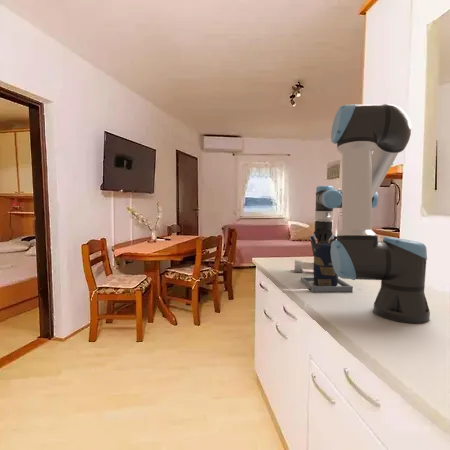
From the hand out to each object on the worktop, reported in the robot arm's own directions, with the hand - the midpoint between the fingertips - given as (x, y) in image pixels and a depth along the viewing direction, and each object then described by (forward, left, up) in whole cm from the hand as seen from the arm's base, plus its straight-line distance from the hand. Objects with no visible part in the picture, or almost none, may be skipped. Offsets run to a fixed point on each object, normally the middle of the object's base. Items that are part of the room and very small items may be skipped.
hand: (321, 272), depth 149 cm
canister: (-18, +5, -2) cm, 18 cm away
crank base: (+6, +9, -2) cm, 11 cm away
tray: (-18, +5, -2) cm, 19 cm away
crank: (+4, +3, -1) cm, 5 cm away
